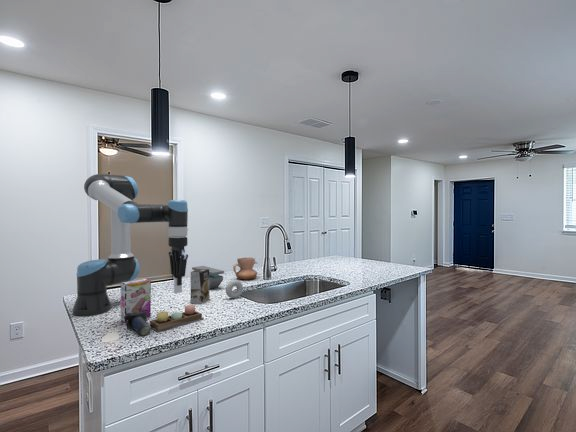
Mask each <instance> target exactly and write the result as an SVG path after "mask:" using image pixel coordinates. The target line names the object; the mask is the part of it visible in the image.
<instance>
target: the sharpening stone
mask: <svg viewBox="0 0 576 432" xmlns="http://www.w3.org/2000/svg"><path fill="white" fill-rule="evenodd" d="M198 269H209V290H210V289H215V288H219V286H220V285H221V284H222V282H223V281H224V275H223V274H225V271H224V270H222V269H218V268H214V267H210V266H205V265H199V266H192V267H191V270H192V271H195V270H198Z"/></svg>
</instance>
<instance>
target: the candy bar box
mask: <svg viewBox="0 0 576 432" xmlns="http://www.w3.org/2000/svg"><path fill="white" fill-rule="evenodd" d="M151 289H152V280H150V279H147V278H142V279H137V280H136V279H134V280H133V281H129V282H123V283H120V322H123V323H124V324H126V322H127V321H128V320H127V321H125V319H124V316H127V315H126V314H128V313H130V314H133V313H139V312H142V311H143V310H147V311H146V313H147V318H149V317H151V309H152V306H151V303H152V301H151V300H152V297H151V295H152V293H151V292H152V291H151Z"/></svg>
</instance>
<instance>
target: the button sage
mask: <svg viewBox="0 0 576 432" xmlns="http://www.w3.org/2000/svg"><path fill="white" fill-rule="evenodd" d="M182 313H183V312H181V311H180V312H173V313H171V315H170V316H171V319H172V320H176V319H180V318H182Z"/></svg>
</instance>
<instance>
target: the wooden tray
mask: <svg viewBox="0 0 576 432" xmlns="http://www.w3.org/2000/svg"><path fill="white" fill-rule="evenodd" d="M181 313H182V318H180V319H176V320H172V319H171V315H168V320H166V321H157V318H156V319H152V320H150V321H149V325H150V327H151V330H152V331H154V332H156V333H161V332H165V331H168V330H171V329H172V330H173V329H174V328H175V327H176V328H178V327H181V326H182V325H183V326H186V325H190V324H192V323H196V322H200V321H203V320H204V317H203V314H202V313H201V312H199V311H197V310H195V313H193V314H185V311H184V312H183V311H182V312H181ZM176 328H175V329H176Z"/></svg>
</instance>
